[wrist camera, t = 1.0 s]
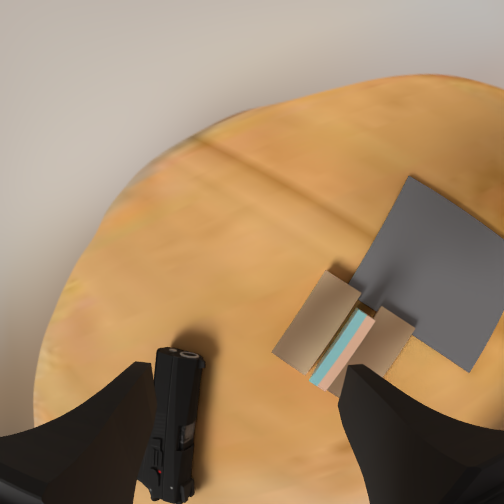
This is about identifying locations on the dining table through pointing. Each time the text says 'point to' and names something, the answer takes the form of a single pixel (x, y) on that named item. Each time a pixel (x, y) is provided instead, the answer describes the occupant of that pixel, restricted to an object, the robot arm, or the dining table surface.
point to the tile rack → (328, 322)
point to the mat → (436, 273)
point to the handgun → (173, 426)
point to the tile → (342, 349)
